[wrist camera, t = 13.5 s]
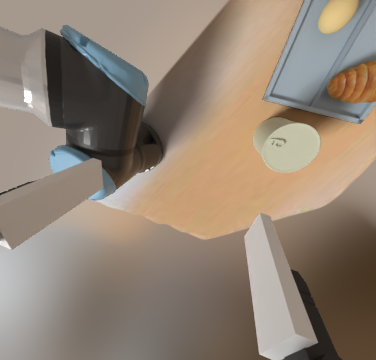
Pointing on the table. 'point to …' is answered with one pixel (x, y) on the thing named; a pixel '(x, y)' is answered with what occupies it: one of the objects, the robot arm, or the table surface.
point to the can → (286, 144)
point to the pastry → (355, 84)
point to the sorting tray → (323, 61)
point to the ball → (336, 15)
